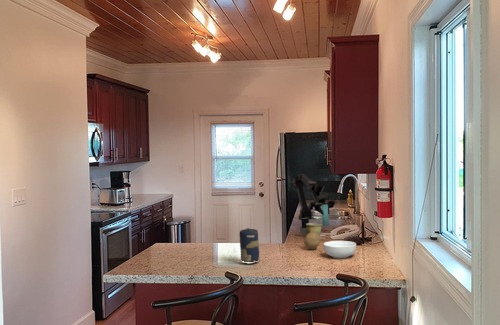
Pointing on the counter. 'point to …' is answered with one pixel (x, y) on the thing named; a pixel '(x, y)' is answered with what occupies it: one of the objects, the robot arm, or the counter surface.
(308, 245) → the natural sponge
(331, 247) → the cereal bowl
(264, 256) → the counter surface
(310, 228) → the ceramic cup
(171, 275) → the counter surface
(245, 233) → the canister
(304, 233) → the walnut base
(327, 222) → the teal post
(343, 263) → the counter surface
